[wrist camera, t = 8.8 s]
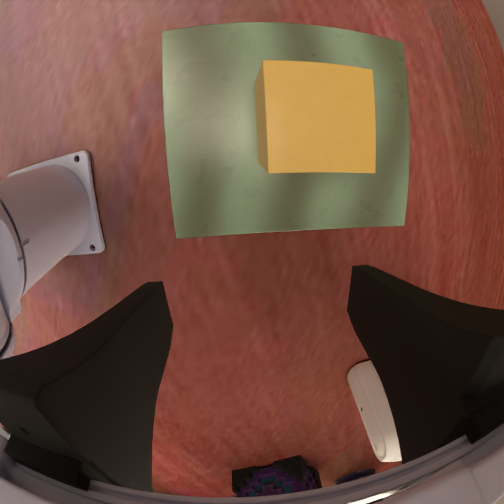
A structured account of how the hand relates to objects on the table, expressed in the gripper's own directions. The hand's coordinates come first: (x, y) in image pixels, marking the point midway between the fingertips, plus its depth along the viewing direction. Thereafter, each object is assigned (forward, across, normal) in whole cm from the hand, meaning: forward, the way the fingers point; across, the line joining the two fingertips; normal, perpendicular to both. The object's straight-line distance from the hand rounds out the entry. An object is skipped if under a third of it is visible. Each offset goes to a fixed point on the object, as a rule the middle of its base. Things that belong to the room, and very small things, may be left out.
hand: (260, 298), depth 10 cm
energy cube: (+11, -2, +46) cm, 47 cm away
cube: (+6, -3, -6) cm, 9 cm away
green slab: (+10, -3, -6) cm, 13 cm away
